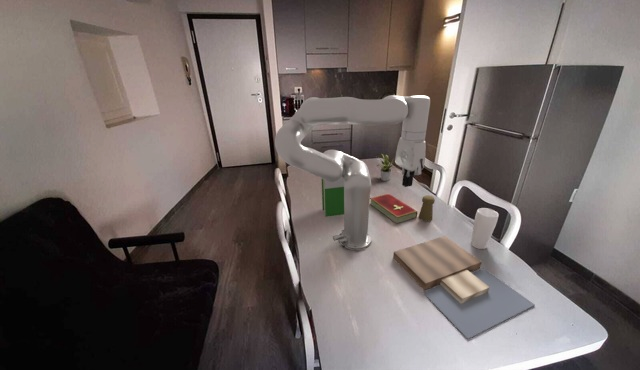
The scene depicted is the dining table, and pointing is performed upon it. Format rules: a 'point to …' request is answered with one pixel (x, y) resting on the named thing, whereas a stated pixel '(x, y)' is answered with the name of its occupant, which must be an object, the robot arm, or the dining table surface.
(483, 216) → the drinking glass
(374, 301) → the dining table surface
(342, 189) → the hardback book
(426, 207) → the cork
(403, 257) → the walnut board
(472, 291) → the birch tile
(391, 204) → the hardcover book
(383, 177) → the house plant
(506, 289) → the rubber mat
